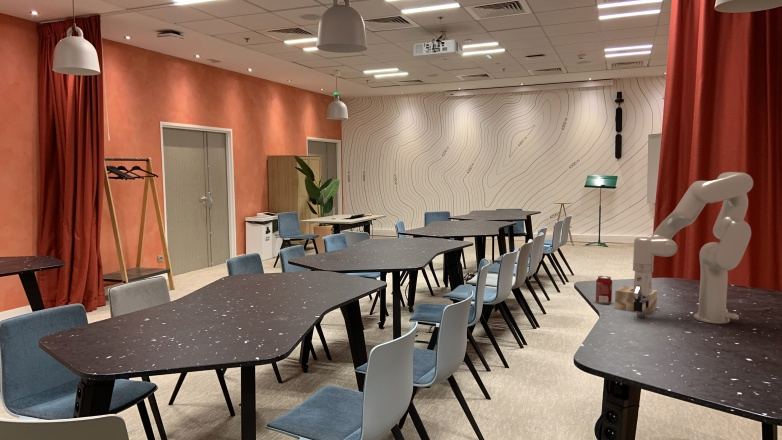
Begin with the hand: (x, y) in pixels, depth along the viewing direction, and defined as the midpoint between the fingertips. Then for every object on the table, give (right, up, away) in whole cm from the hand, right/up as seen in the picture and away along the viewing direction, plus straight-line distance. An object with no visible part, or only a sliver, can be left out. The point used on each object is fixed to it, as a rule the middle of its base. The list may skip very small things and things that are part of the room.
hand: (641, 308), depth 223 cm
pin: (0, -4, 0) cm, 4 cm away
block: (+5, -2, +15) cm, 16 cm away
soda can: (-6, -1, +25) cm, 25 cm away
